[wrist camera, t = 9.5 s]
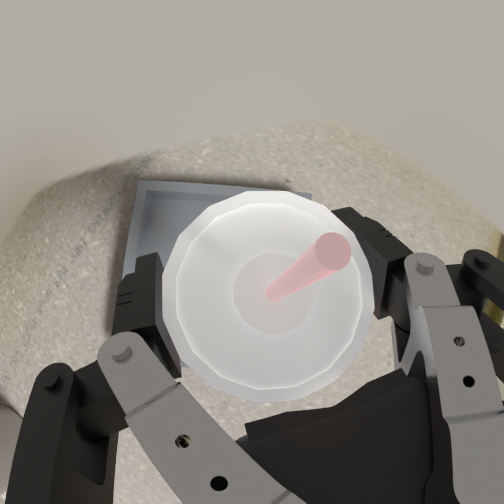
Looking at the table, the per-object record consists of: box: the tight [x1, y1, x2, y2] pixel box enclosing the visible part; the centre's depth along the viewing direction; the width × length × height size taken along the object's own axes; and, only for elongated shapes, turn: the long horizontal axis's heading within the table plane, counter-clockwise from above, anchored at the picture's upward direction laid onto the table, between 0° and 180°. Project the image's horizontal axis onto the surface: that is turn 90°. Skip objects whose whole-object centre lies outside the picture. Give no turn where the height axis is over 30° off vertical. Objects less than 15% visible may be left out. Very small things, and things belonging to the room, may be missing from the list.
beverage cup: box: [162, 191, 375, 403], centre depth 10 cm, size 6×6×14 cm
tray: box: [122, 180, 311, 368], centre depth 27 cm, size 16×16×2 cm
